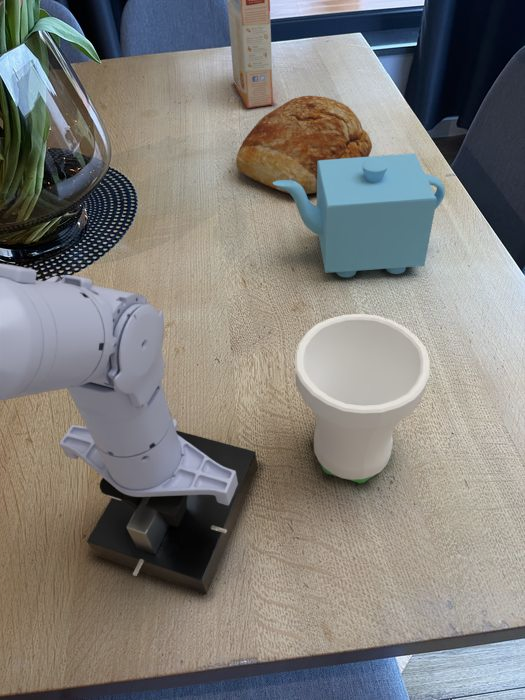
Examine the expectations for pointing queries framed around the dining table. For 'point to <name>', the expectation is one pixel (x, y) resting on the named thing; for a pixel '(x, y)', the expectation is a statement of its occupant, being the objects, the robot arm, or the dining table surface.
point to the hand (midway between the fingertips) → (166, 512)
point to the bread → (301, 141)
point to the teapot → (370, 212)
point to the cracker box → (251, 50)
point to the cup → (359, 389)
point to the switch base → (181, 526)
